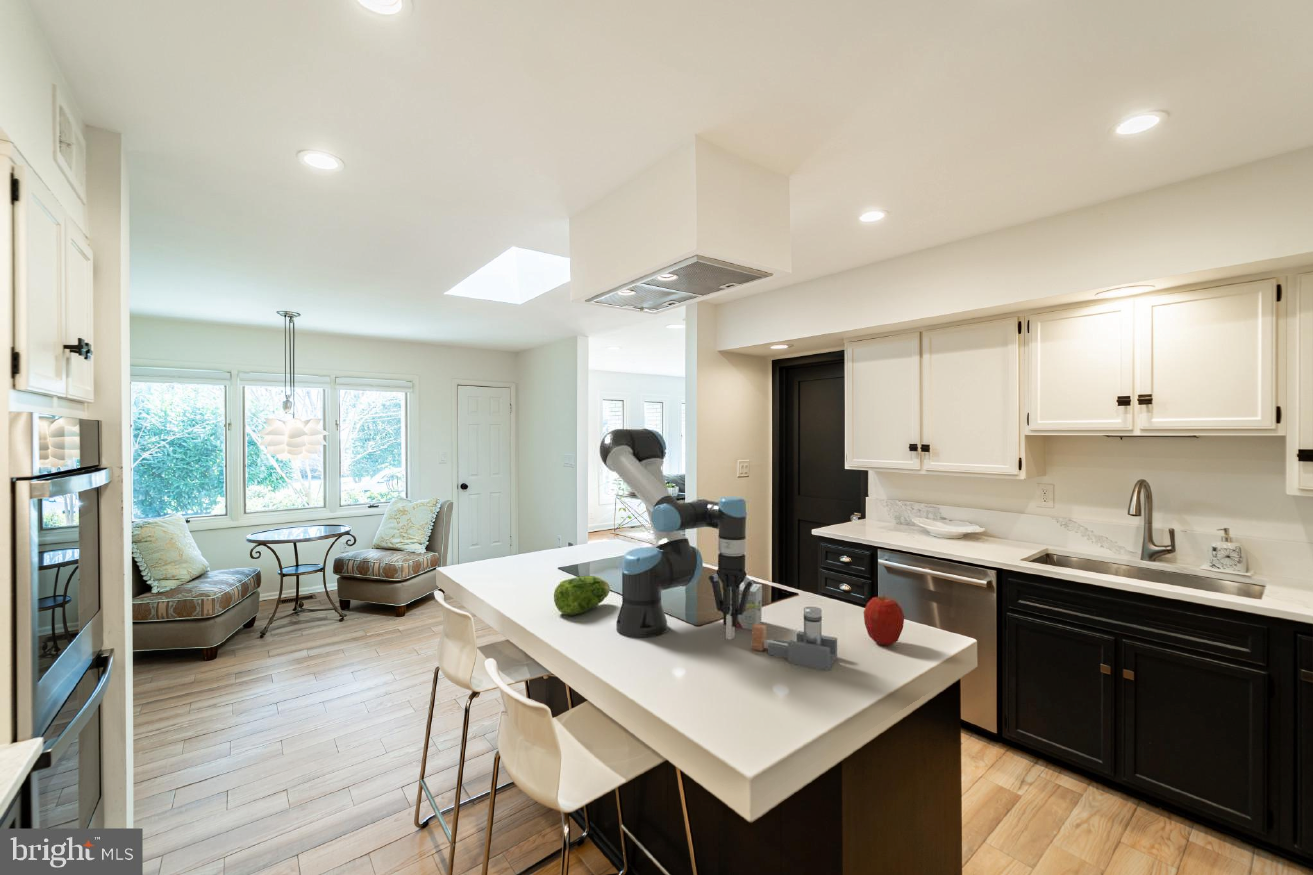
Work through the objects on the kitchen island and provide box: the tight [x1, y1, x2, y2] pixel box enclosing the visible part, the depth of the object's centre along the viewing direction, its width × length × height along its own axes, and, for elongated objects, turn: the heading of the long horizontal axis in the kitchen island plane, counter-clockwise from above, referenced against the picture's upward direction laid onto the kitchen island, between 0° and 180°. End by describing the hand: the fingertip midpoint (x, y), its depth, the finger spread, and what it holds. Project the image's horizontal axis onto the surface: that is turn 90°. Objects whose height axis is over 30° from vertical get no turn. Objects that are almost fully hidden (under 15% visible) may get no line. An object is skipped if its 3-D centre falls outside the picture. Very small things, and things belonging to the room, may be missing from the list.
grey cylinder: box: [803, 606, 823, 646], centre depth 143 cm, size 4×4×13 cm
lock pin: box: [751, 623, 788, 652], centre depth 147 cm, size 13×3×6 cm, turn 59°
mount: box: [767, 630, 838, 672], centre depth 144 cm, size 16×10×5 cm, turn 59°
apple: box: [863, 593, 905, 647], centre depth 154 cm, size 10×10×14 cm
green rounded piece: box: [553, 575, 611, 616], centre depth 184 cm, size 12×21×11 cm, turn 141°
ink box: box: [729, 581, 763, 630], centre depth 170 cm, size 9×9×12 cm
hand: (730, 637), depth 155 cm, fingers closed
